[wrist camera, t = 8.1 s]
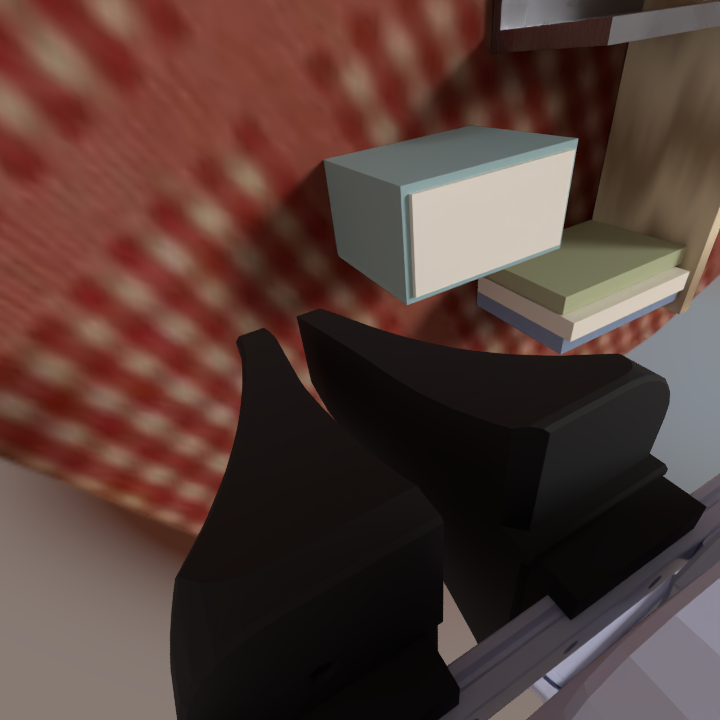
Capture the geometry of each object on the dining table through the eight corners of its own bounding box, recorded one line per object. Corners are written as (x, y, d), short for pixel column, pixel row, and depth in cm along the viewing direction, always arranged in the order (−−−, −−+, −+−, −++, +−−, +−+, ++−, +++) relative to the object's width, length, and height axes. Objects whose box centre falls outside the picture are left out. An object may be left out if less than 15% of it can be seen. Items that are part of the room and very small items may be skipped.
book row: (581, 264, 30) (682, 302, 25) (476, 305, 27) (566, 358, 22) (590, 219, 29) (702, 250, 23) (479, 258, 26) (578, 304, 20)
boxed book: (467, 214, 24) (563, 249, 19) (337, 255, 21) (409, 307, 16) (470, 125, 21) (582, 138, 16) (322, 159, 19) (403, 187, 14)
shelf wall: (588, 271, 31) (688, 309, 26) (580, 274, 31) (679, 314, 26) (664, -77, 21) (857, -129, 15) (653, -76, 20) (846, -129, 15)
